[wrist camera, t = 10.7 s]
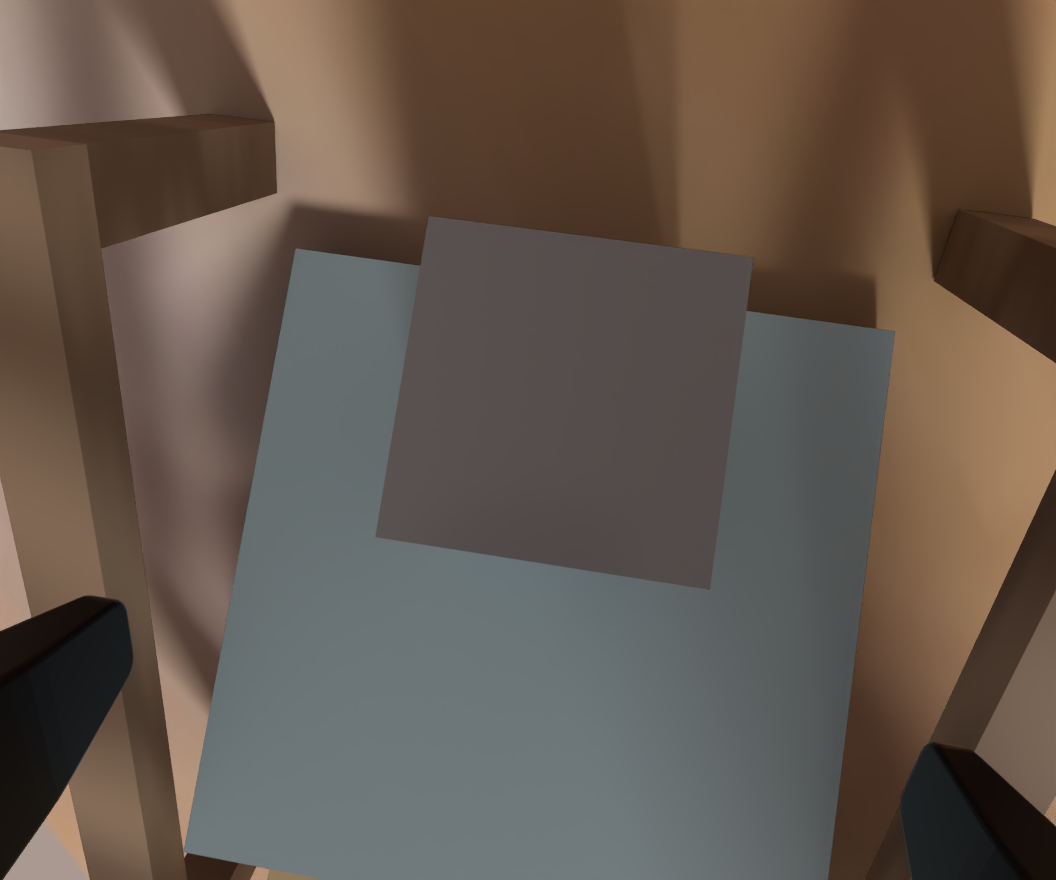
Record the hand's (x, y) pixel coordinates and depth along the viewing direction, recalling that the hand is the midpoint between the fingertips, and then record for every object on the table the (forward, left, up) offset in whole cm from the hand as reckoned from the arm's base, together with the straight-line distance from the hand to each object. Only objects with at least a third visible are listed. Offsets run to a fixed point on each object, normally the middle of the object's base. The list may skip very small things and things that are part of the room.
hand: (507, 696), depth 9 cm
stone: (-1, 0, -9) cm, 9 cm away
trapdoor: (-10, 0, -12) cm, 15 cm away
